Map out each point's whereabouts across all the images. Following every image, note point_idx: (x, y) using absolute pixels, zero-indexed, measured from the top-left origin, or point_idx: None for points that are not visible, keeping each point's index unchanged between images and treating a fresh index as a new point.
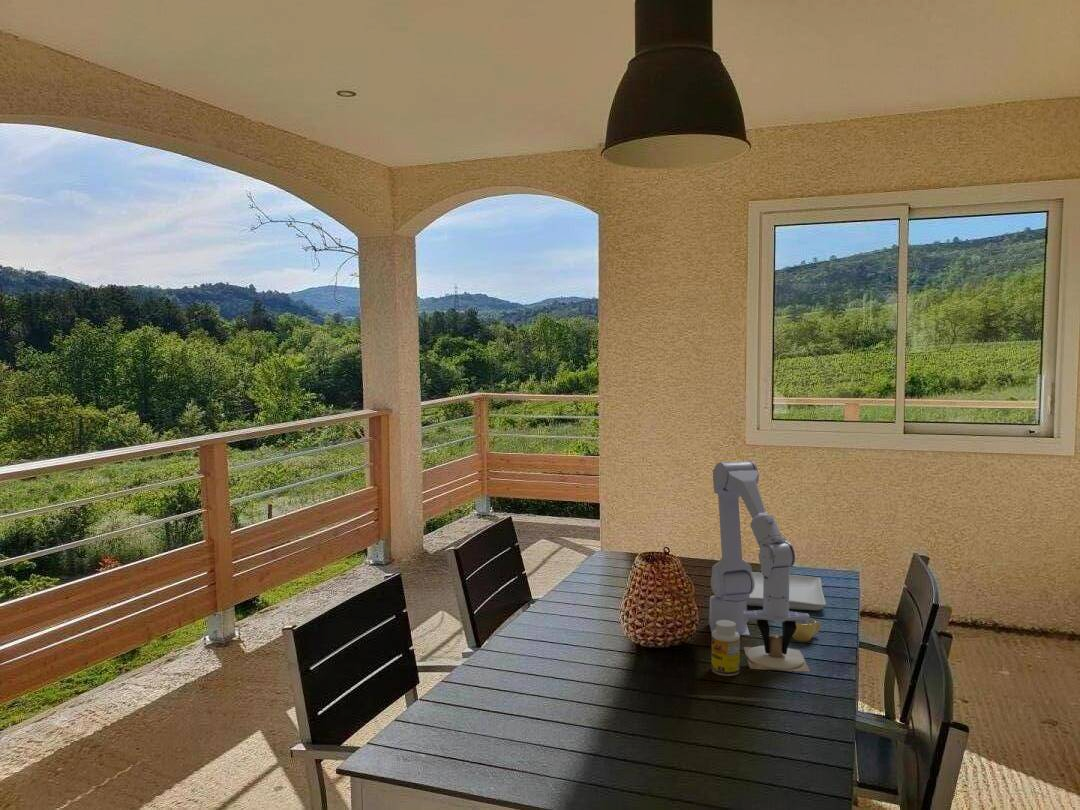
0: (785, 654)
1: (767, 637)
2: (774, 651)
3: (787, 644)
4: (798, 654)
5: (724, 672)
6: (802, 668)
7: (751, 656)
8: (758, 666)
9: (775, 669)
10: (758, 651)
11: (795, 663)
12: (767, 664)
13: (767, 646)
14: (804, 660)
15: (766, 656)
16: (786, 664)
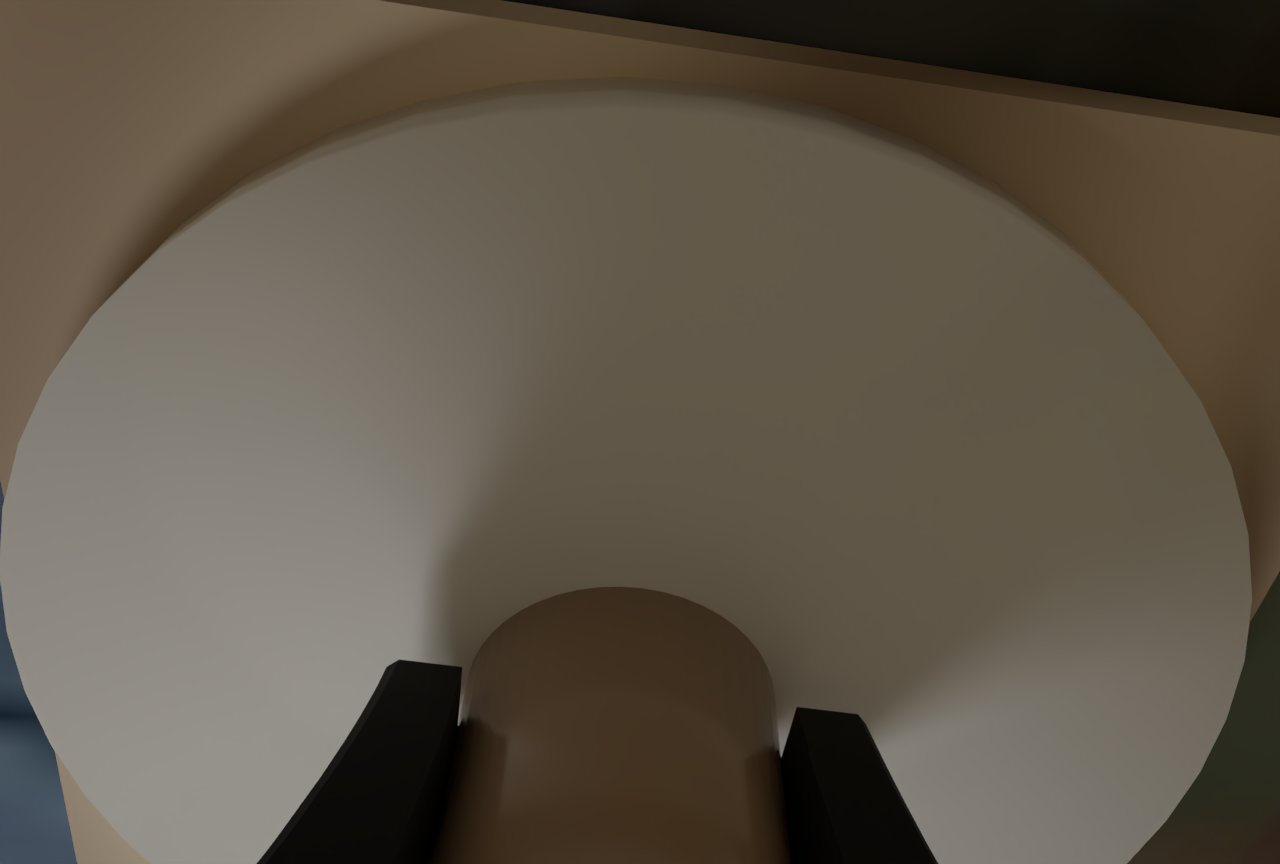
0: None
1: None
2: (692, 712)
3: (299, 854)
4: (112, 728)
5: None
6: (95, 143)
7: (1191, 669)
8: (1205, 284)
9: (840, 91)
10: None
11: (238, 286)
12: (1043, 229)
13: (883, 844)
14: None
15: (847, 660)
16: (501, 218)
